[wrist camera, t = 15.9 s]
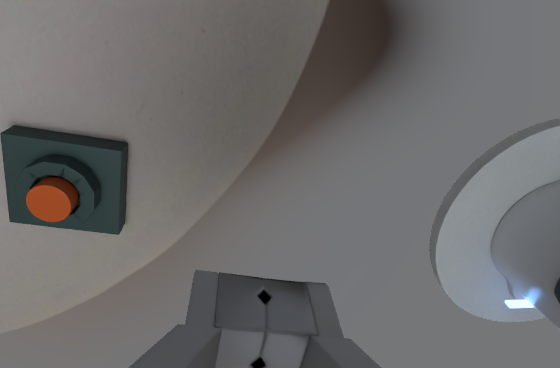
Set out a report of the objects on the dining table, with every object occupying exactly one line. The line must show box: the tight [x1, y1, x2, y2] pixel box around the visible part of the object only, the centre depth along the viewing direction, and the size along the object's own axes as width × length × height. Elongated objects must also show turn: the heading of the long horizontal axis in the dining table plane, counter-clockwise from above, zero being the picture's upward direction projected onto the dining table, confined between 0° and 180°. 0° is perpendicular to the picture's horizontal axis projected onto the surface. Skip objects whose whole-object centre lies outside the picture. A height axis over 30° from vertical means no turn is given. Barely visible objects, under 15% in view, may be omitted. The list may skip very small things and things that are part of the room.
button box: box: [1, 126, 128, 235], centre depth 36 cm, size 10×9×4 cm
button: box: [26, 177, 78, 222], centre depth 34 cm, size 4×4×2 cm
